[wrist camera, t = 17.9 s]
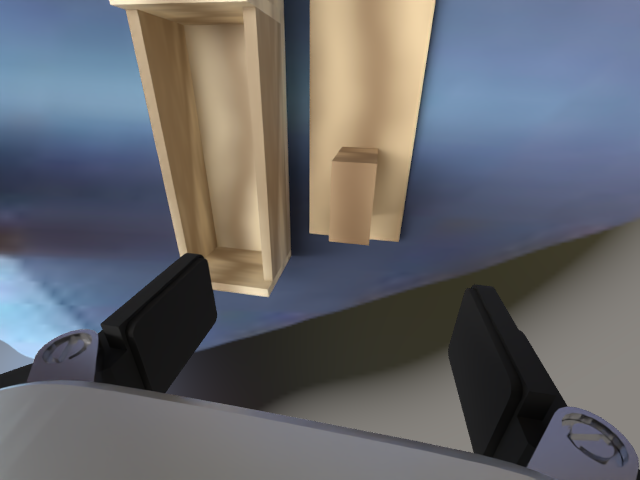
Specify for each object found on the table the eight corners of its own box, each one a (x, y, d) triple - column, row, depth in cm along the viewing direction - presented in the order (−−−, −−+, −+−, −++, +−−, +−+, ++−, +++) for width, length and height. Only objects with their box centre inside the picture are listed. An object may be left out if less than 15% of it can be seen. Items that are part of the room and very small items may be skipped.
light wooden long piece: (216, 247, 33) (177, 284, 27) (163, -90, 21) (69, -168, 15) (290, 256, 32) (268, 297, 25) (280, -99, 20) (233, -189, 13)
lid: (311, 228, 30) (293, 264, 24) (313, -4, 22) (285, -42, 16) (398, 236, 29) (402, 276, 23) (434, -7, 21) (458, -51, 14)
